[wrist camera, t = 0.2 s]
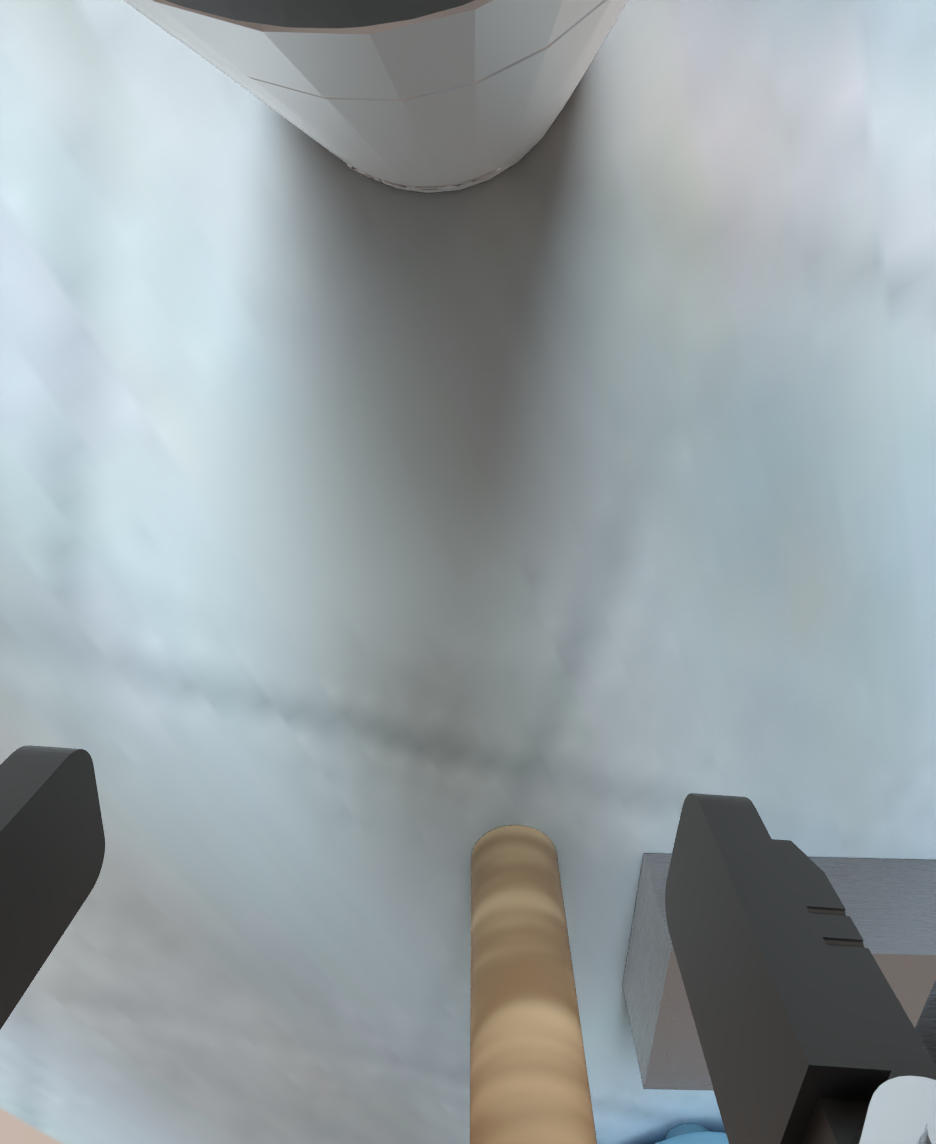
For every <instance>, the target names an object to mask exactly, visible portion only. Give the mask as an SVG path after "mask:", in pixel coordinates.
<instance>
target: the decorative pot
mask: <svg viewBox="0 0 936 1144" xmlns="http://www.w3.org/2000/svg"><path fill="white" fill-rule="evenodd" d="M655 1144H729V1142H728V1138H727V1135H726V1133H723V1132H710V1131H709V1130H708V1129H707V1128H706V1127H704V1126H702V1125H700V1124H694V1123H686V1124H681V1125H678V1126H675V1127H673V1128H672V1129H671V1130H669V1131H668V1133H667V1135H666V1140H663V1141H661V1142H658V1143H655Z"/></svg>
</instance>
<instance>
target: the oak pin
mask: <svg viewBox="0 0 936 1144" xmlns="http://www.w3.org/2000/svg"><path fill="white" fill-rule="evenodd" d="M470 1144H597V1141H596V1133H595V1126H594V1119H593V1112H592V1104H591V1097H590V1090H589V1083H588V1076H587V1068H586V1061H585V1054H584V1047H583V1039H582V1032H581V1025H580V1018H579V1011H578V1003H577V996H576V989H575V982H574V974H573V967H572V960H571V953H570V946H569V938H568V931H567V924H566V917H565V910H564V902H563V895H562V888H561V881H560V873H559V866H558V859H557V852H556V849H555V846H554V844H553V843H552V841H551V840H550V839H549V838H548V837H547V836H546V835H545V834H543V833H542V832H540V831H538V830H536V829H534V828H530V827H527V826H520V825H510V826H503V827H499V828H496V829H494V830H491V831H489V832H488V833H486V834H485V835H483V836H482V837H481V838H480V839H479V840H478V841H477V843H476V844H475V846H474V848H473V851H472V856H471V1024H470Z"/></svg>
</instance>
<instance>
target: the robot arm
mask: <svg viewBox="0 0 936 1144" xmlns="http://www.w3.org/2000/svg"><path fill="white" fill-rule="evenodd" d="M124 1H125V2H127V3H128V4H129V5H131V6H132V7H133V8H135V9H136V10H137V11H139V12H140V13H142V14H143V15H144V16H146V17H147V18H148V19H150V20H151V21H152V22H154V23H155V24H156V25H158V26H159V27H161V28H162V29H163V30H165V31H166V32H167V33H169V34H170V35H171V36H173V37H175V38H176V39H178V40H180V41H181V42H182V43H184V44H185V45H186V46H188V47H189V48H190V49H192V50H193V51H194V52H196V53H197V54H199V55H200V56H201V57H203V58H204V59H205V60H207V61H208V62H209V63H211V64H212V65H213V66H215V67H216V68H218V69H219V70H220V71H222V72H223V73H224V74H226V75H227V76H228V77H230V78H231V79H232V80H234V81H235V82H237V83H238V84H239V85H241V86H242V87H243V88H245V89H246V90H247V91H249V92H250V93H251V94H253V95H254V96H256V97H257V98H258V99H260V100H261V101H262V102H264V103H265V104H266V105H268V106H269V107H270V108H272V109H273V110H275V111H276V112H277V113H279V114H280V115H281V116H283V117H284V118H285V119H287V120H288V121H289V122H291V123H292V124H294V125H295V126H296V127H298V128H299V129H300V130H302V131H303V132H304V133H306V134H307V135H308V136H310V137H311V138H313V139H314V140H315V141H317V142H318V143H319V144H321V145H322V146H323V147H325V148H326V149H327V150H329V151H330V152H331V153H333V154H334V155H336V156H337V157H338V158H340V159H341V160H343V161H344V162H345V163H347V166H348V167H350V168H351V169H353V170H355V171H357V172H359V173H361V174H363V175H365V176H367V177H369V178H371V179H374V180H376V181H379V182H382V183H384V184H387V185H389V186H392V187H394V188H397V189H404V190H411V191H418V192H424V193H434V192H445V191H455V190H461V189H464V188H467V187H470V186H473V185H476V184H479V183H482V182H484V181H487V180H490V179H492V178H493V177H495V176H496V175H498V174H500V173H501V172H503V171H504V170H506V169H508V168H509V167H511V166H512V165H514V164H516V163H517V162H518V161H519V160H521V159H522V158H523V157H524V156H525V155H526V154H527V153H528V152H529V151H530V150H531V149H532V148H533V147H534V146H535V145H536V144H537V143H538V142H539V141H540V140H541V139H542V138H543V137H544V135H545V134H546V132H547V131H548V129H549V128H550V126H551V125H552V124H553V122H554V121H555V119H556V118H557V116H558V115H559V113H560V112H561V110H562V109H563V107H564V106H565V104H566V102H567V101H568V99H569V98H570V96H571V95H572V93H573V91H574V90H575V88H576V87H577V85H578V83H579V82H580V80H581V79H582V77H583V75H584V74H585V72H586V70H587V69H588V67H589V65H590V64H591V62H592V60H593V58H594V57H595V55H596V53H597V52H598V50H599V48H600V47H601V45H602V43H603V42H604V40H605V38H606V37H607V35H608V33H609V31H610V30H611V28H612V26H613V25H614V23H615V21H616V20H617V18H618V16H619V15H620V13H621V11H622V10H623V8H624V6H625V5H626V3H627V1H628V0H124ZM104 852H105V837H104V830H103V824H102V818H101V811H100V805H99V798H98V792H97V786H96V779H95V773H94V766H93V762H92V758H91V756H90V754H89V753H88V752H87V751H86V750H83V749H71V748H57V747H42V746H23V747H20V748H19V749H17V750H16V751H15V752H13V753H12V754H11V755H10V756H9V757H8V758H7V759H6V760H5V761H4V762H3V763H2V764H1V765H0V1029H1V1028H2V1026H3V1025H4V1023H5V1022H6V1020H7V1019H8V1017H9V1016H10V1014H11V1012H12V1011H13V1009H14V1008H15V1006H16V1005H17V1003H18V1002H19V1000H20V999H21V997H22V996H23V994H24V993H25V991H26V990H27V988H28V987H29V985H30V984H31V982H32V981H33V979H34V977H35V976H36V974H37V973H38V971H39V970H40V968H41V967H42V965H43V964H44V962H45V961H46V959H47V958H48V956H49V955H50V953H51V952H52V950H53V949H54V947H55V945H56V944H57V942H58V941H59V939H60V938H61V936H62V935H63V933H64V932H65V930H66V929H67V927H68V926H69V924H70V923H71V921H72V920H73V918H74V917H75V915H76V913H77V912H78V910H79V909H80V907H81V906H82V904H83V903H84V901H85V900H86V898H87V897H88V895H89V894H90V892H91V890H92V889H93V887H94V885H95V883H96V881H97V879H98V876H99V873H100V870H101V867H102V863H103V858H104ZM665 910H666V919H667V925H668V930H669V934H670V938H671V941H672V945H673V948H674V952H675V955H676V959H677V962H678V966H679V969H680V973H681V976H682V980H683V983H684V987H685V990H686V994H687V998H688V1001H689V1005H690V1008H691V1012H692V1015H693V1019H694V1022H695V1026H696V1029H697V1033H698V1036H699V1040H700V1043H701V1047H702V1050H703V1054H704V1057H705V1061H706V1064H707V1068H708V1071H709V1075H710V1078H711V1082H712V1085H713V1089H714V1093H715V1096H716V1100H717V1103H718V1107H719V1110H720V1114H721V1117H722V1121H723V1124H724V1128H725V1131H726V1135H727V1138H728V1142H729V1144H936V1064H935V1062H934V1061H933V1059H932V1057H931V1055H930V1054H929V1052H928V1050H927V1048H926V1047H925V1045H924V1043H923V1042H922V1040H921V1038H920V1036H919V1035H918V1033H917V1031H916V1030H915V1028H914V1026H913V1024H912V1023H911V1021H910V1019H909V1017H908V1016H907V1014H906V1012H905V1011H904V1009H903V1007H902V1005H901V1004H900V1002H899V1000H898V998H897V997H896V995H895V993H894V992H893V990H892V988H891V986H890V985H889V983H888V981H887V980H886V978H885V976H884V974H883V973H882V971H881V969H880V967H879V966H878V964H877V962H876V961H875V959H874V957H873V955H872V954H871V952H870V950H869V948H865V947H864V944H863V938H862V936H861V935H860V933H859V931H858V930H857V928H856V926H855V924H854V923H853V921H852V919H851V917H850V916H846V913H845V907H844V905H843V904H842V902H841V900H840V898H839V897H838V895H837V893H836V892H835V890H834V888H833V886H832V885H831V883H830V881H829V879H828V878H827V876H826V874H825V873H824V872H823V871H822V870H821V869H820V868H819V867H818V866H817V865H816V864H815V863H814V862H813V861H812V860H811V859H810V858H809V857H807V856H806V855H805V854H804V853H803V852H802V851H801V850H800V849H799V848H798V847H797V846H796V845H795V844H794V843H793V842H791V841H788V840H774V839H771V837H770V835H769V833H768V831H767V829H766V827H765V826H764V824H763V822H762V820H761V818H760V816H759V814H758V812H757V810H756V808H755V806H754V805H753V803H752V802H751V801H750V799H748V798H746V797H736V796H722V795H707V794H693V793H691V794H689V795H688V796H687V797H686V799H685V801H684V804H683V807H682V812H681V816H680V821H679V825H678V830H677V834H676V839H675V843H674V848H673V853H672V857H671V862H670V866H669V871H668V875H667V880H666V888H665Z"/></svg>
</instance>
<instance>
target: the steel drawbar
mask: <svg viewBox="0 0 936 1144" xmlns="http://www.w3.org/2000/svg"><path fill="white" fill-rule="evenodd" d="M671 857H672V854H651V853H644V855H643V862H642V868H641V874H640V880H639V886H638V892H637V899H636V905H635V911H634V917H633V923H632V929H631V936H630V942H629V948H628V954H627V960H626V966H625V973H624V979H623V990H624V995H625V1000H626V1005H627V1010H628V1015H629V1020H630V1025H631V1029H632V1034H633V1039H634V1044H635V1049H636V1054H637V1059H638V1064H639V1069H640V1074H641V1079H642V1083H643V1088H644V1089H675V1090H714V1089H713V1085H712V1082H711V1078H710V1075H709V1071H708V1068H707V1064H706V1061H705V1057H704V1054H703V1050H702V1047H701V1043H700V1040H699V1036H698V1033H697V1029H696V1026H695V1022H694V1019H693V1015H692V1012H691V1008H690V1005H689V1001H688V998H687V994H686V990H685V987H684V983H683V980H682V976H681V973H680V969H679V966H678V962H677V959H676V955H675V952H674V948H673V945H672V941H671V938H670V934H669V930H668V925H667V919H666V910H665V888H666V880H667V875H668V871H669V866H670V862H671ZM809 858H810V859H811V860H812V861H813V862H814V863H815V864H816V865H817V866H818V867H819V868H820V869H821V870H822V871H823V872H824V873H825V874H826V876H827V878H828V879H829V881H830V883H831V885H832V886H833V888H834V890H835V892H836V893H837V895H838V897H839V898H840V900H841V902H842V904H843V905H844V907H845V913H846V916H850V917H851V919H852V921H853V923H854V924H855V926H856V928H857V930H858V931H859V933H860V935H861V936H862V938H863V944H864V947H865V948H869V950H870V952H871V954H872V955H873V957H874V959H875V961H876V962H877V964H878V966H879V967H880V969H881V971H882V973H883V974H884V976H885V978H886V980H887V981H888V983H889V985H890V986H891V988H892V990H893V992H894V993H895V995H896V997H897V998H898V1000H899V1002H900V1004H901V1005H902V1007H903V1009H904V1011H905V1012H906V1014H907V1016H908V1017H909V1019H910V1021H911V1023H912V1024H913V1026H914V1028H915V1030H916V1031H917V1033H918V1035H919V1036H920V1038H921V1040H922V1042H923V1043H924V1045H925V1047H926V1048H927V1050H928V1052H929V1054H930V1055H931V1057H932V1059H933V1061H934V1062H935V1064H936V860H910V859H867V858H824V857H809Z"/></svg>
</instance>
